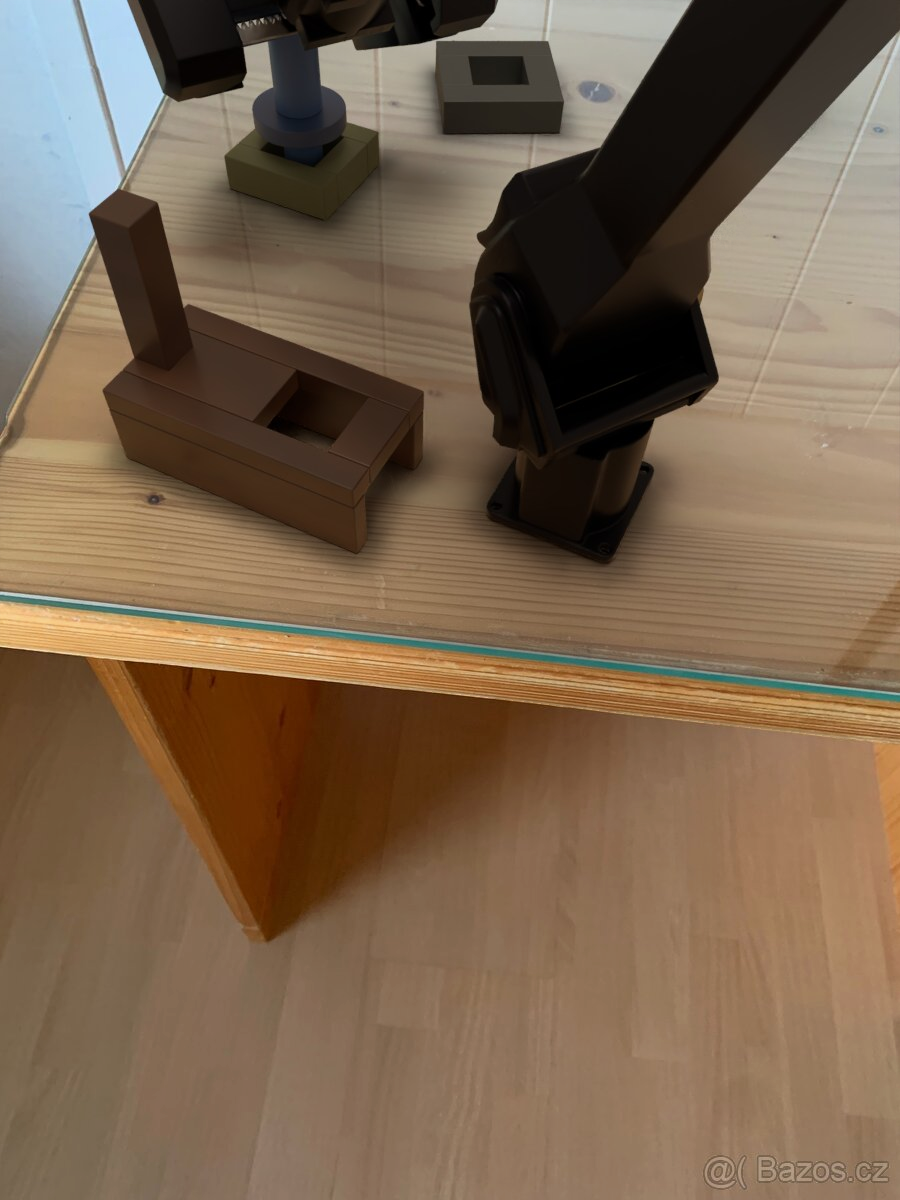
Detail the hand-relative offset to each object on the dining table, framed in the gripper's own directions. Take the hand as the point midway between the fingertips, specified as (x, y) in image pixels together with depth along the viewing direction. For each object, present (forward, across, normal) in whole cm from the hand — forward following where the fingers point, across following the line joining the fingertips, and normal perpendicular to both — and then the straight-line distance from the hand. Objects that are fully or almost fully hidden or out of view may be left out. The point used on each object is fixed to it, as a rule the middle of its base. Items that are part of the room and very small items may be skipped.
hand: (285, 57), depth 55 cm
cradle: (+4, 0, +6) cm, 7 cm away
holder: (+5, -16, +4) cm, 17 cm away
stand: (-11, +12, +21) cm, 26 cm away
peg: (+4, 0, +6) cm, 7 cm away
